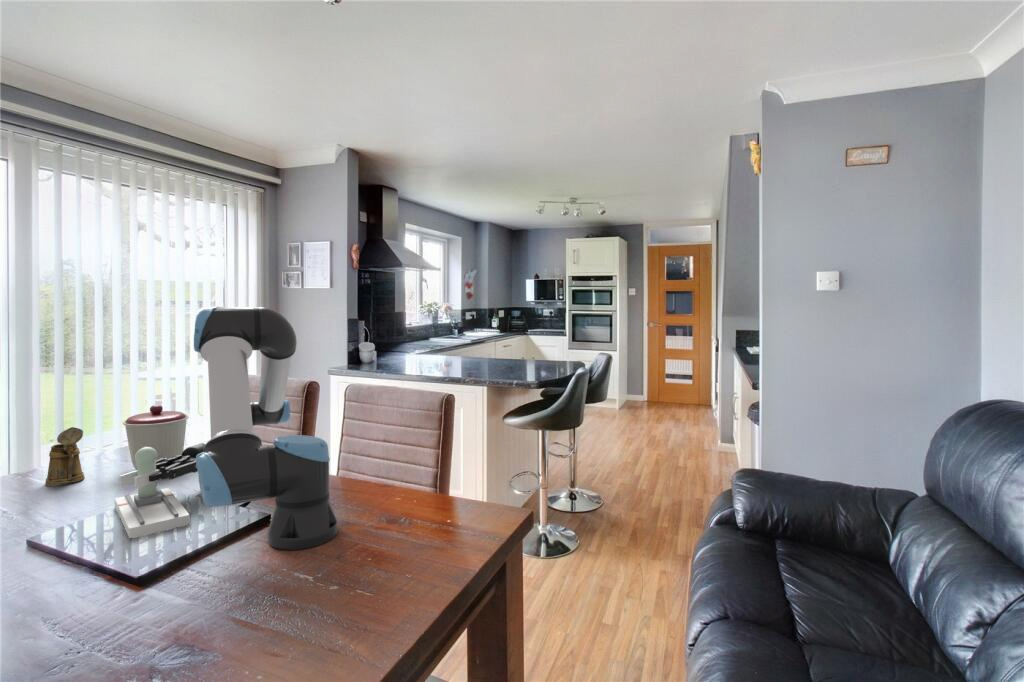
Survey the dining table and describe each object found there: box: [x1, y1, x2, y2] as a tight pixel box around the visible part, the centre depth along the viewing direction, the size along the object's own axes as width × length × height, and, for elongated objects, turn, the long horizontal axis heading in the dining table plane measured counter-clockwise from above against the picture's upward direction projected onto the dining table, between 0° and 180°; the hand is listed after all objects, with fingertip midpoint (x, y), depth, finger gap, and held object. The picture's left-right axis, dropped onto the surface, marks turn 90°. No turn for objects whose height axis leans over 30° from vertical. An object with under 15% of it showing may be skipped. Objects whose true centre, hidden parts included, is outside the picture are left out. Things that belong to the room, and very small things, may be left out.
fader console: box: [114, 487, 191, 540], centre depth 132 cm, size 26×12×3 cm, turn 43°
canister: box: [122, 404, 190, 470], centre depth 172 cm, size 18×18×21 cm
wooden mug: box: [44, 426, 85, 487], centre depth 156 cm, size 9×14×18 cm, turn 54°
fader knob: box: [133, 447, 162, 506], centre depth 134 cm, size 5×5×14 cm
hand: (128, 482), depth 129 cm, fingers closed on fader knob, 4 cm apart
